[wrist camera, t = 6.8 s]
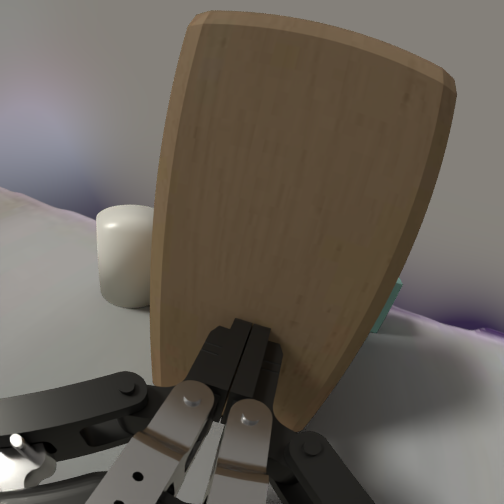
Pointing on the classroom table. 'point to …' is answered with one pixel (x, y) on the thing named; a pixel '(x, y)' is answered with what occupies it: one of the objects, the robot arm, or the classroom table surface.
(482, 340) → the classroom table surface
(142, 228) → the cream rounded cylinder
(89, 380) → the robot arm
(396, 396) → the classroom table surface
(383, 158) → the wooden block
